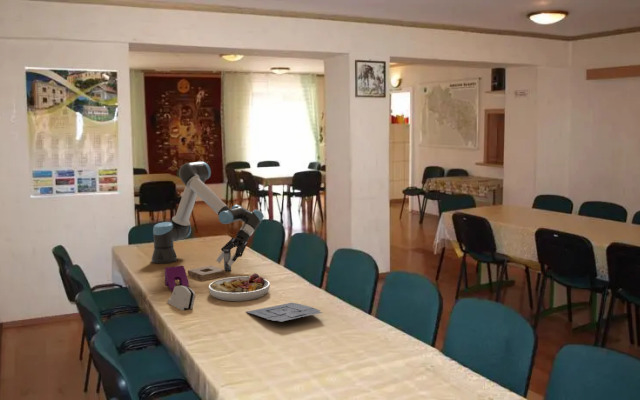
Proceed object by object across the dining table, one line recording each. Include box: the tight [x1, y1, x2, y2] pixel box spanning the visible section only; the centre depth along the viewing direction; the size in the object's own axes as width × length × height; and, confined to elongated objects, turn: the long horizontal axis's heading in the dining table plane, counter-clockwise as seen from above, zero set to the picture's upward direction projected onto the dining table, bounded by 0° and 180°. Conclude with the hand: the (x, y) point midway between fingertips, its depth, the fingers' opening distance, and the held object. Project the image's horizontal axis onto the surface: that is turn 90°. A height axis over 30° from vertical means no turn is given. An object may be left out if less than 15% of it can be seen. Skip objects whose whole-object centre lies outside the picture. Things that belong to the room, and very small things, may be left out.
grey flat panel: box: [245, 302, 324, 322], centre depth 254 cm, size 24×30×4 cm
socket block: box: [187, 265, 226, 281], centre depth 324 cm, size 15×15×3 cm
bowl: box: [208, 273, 271, 302], centre depth 289 cm, size 30×30×8 cm
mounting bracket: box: [164, 265, 190, 293], centre depth 300 cm, size 10×9×19 cm
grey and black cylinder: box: [223, 249, 232, 272], centre depth 334 cm, size 4×4×12 cm
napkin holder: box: [166, 285, 196, 312], centre depth 271 cm, size 17×5×10 cm, turn 40°
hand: (223, 263), depth 332 cm, fingers open, 11 cm apart
